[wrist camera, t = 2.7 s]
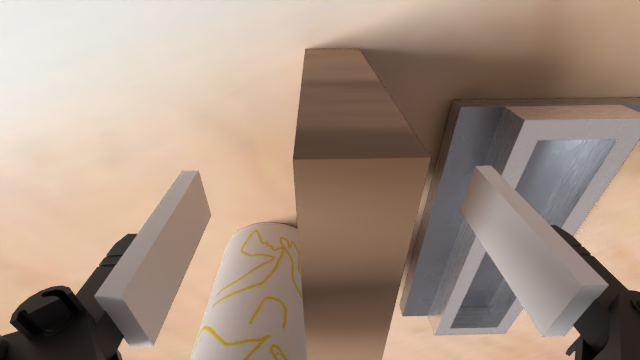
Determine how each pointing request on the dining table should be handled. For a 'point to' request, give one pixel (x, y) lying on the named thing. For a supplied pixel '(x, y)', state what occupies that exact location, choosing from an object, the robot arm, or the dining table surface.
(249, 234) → the yellow-veined white cylinder
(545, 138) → the track
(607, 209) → the dining table surface
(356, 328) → the door panel
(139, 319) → the robot arm
